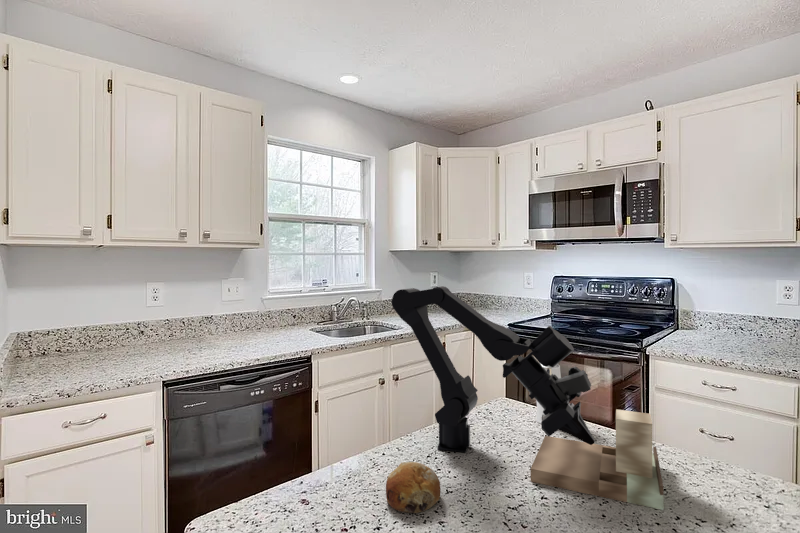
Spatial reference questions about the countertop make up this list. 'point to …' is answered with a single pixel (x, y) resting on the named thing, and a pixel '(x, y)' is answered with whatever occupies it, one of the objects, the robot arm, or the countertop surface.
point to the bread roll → (412, 488)
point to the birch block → (634, 443)
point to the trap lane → (595, 472)
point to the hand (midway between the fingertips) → (593, 443)
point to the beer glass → (540, 409)
